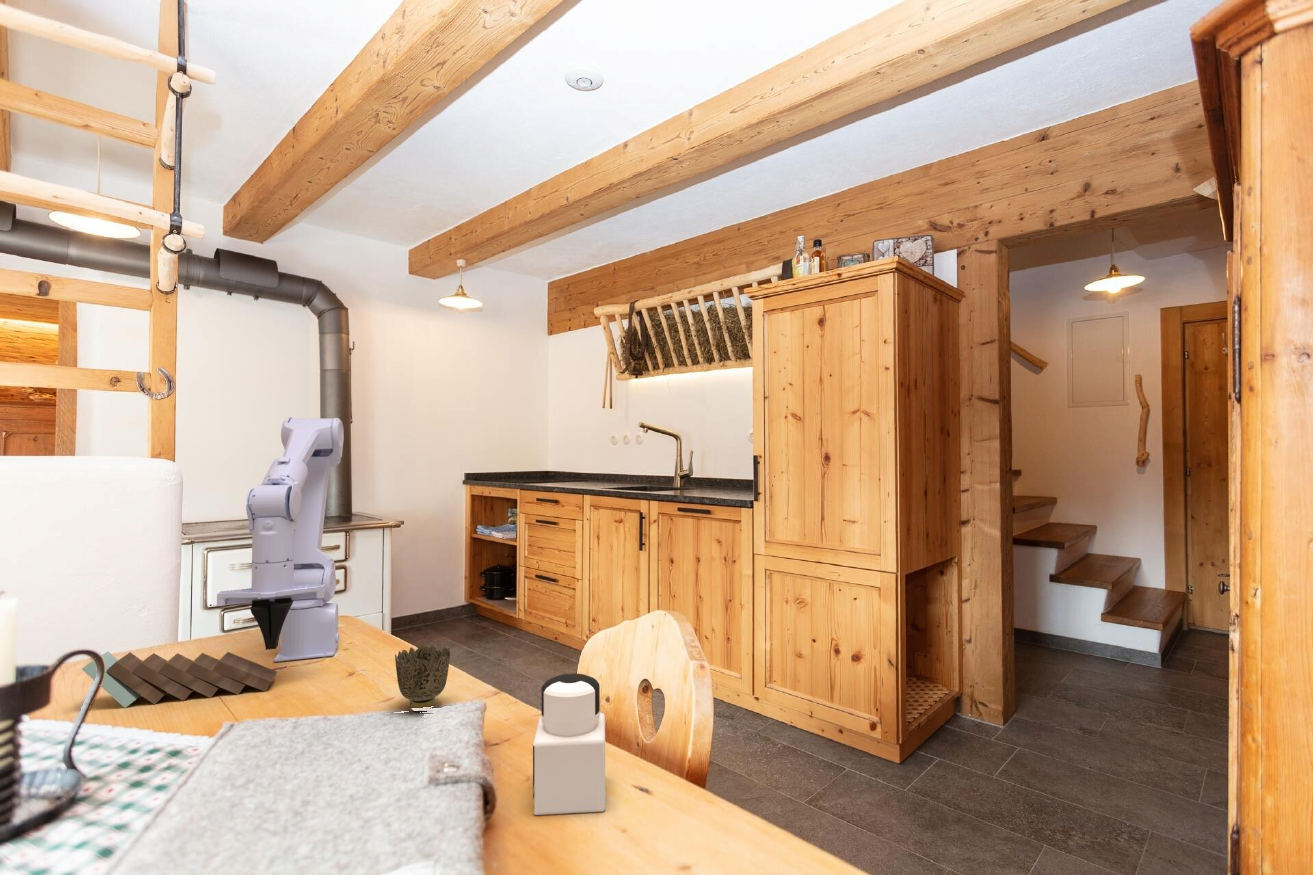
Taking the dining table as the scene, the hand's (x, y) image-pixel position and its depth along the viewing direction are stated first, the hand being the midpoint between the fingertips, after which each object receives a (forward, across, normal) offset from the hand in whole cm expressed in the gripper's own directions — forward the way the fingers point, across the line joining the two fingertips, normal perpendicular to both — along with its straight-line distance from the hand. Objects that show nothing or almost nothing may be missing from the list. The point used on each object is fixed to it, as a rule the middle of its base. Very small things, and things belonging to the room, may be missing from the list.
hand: (271, 647), depth 100 cm
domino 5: (+5, -4, 0) cm, 6 cm away
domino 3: (+5, -10, 0) cm, 12 cm away
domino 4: (+5, -7, 0) cm, 9 cm away
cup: (+6, +22, -19) cm, 30 cm away
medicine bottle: (+6, +36, -50) cm, 62 cm away
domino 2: (+5, -14, 0) cm, 15 cm away
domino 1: (+5, -17, 0) cm, 18 cm away
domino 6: (+5, 0, 0) cm, 5 cm away
